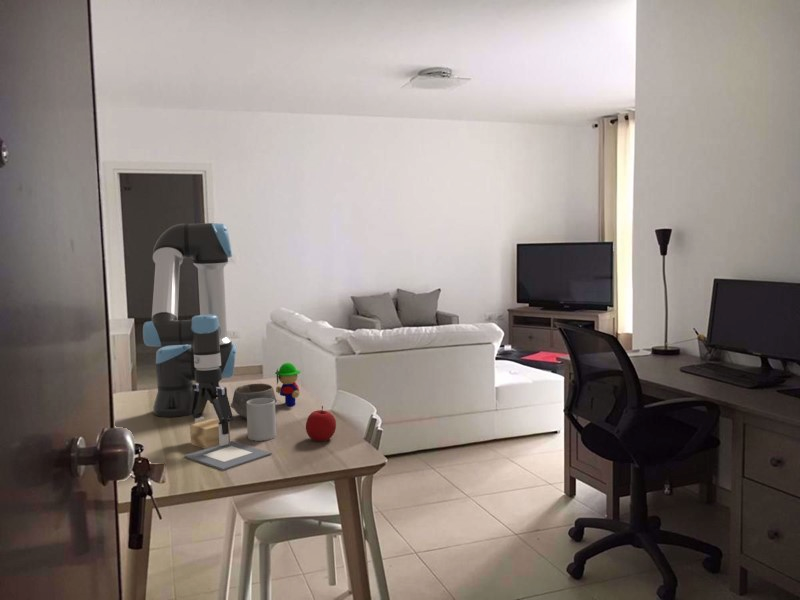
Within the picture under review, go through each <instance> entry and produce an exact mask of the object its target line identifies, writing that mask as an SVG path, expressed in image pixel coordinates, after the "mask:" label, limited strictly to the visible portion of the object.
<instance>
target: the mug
mask: <svg viewBox="0 0 800 600" xmlns="http://www.w3.org/2000/svg"><path fill="white" fill-rule="evenodd" d="M246 406H247V418H246V426H247V429H246V430H247V439H248V440H250V441H253V440H255V442H261V441H262V442H263V440H264V441H268V440H269V441H270V440H272V439H274V438H276V437H277V422H276V421H277V420H276V419H277V418H276V403H275V400H274V399H271V398H256V399H251V400H249V401H247V403H246Z"/></svg>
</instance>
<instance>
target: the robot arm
mask: <svg viewBox="0 0 800 600" xmlns="http://www.w3.org/2000/svg"><path fill="white" fill-rule="evenodd" d="M231 246H232V245H231V242H230V235H229V230H228V227H227V225H225V224H224V223H214V222H211V223H210V222H208V223H207V222H203V223H177V224H174V225H172V226H171V227H168V229H167V228H166V230H165V231H164V232H163V233H162V234H160V236H159V238H158V239H157V240H156V243H155V245H154V246H153V251H152V261H153V262H154V264H155V267H154V268H155V269H154V279H153V280H154V283H153V292H152V293H153V295H152V307H151V308H152V310H151V320H150V321H145V322H144V323H143V327H142V338H143V339H142V340H143V343H144V345H145V346H147V347H159V349H158V350H156V354H155V364H156V365H155V366H156V367H155V368H156V381H157V382H156V383H157V392H156V397H155V400H154V404H153V407H152V408H153V415H155V416H157V417H161V418H162V417H163V418H164V417H166V418H171V417H172V418H173V417H183V416H188V415H190V416H192V417H193V419H194V423H198V422H202V421H205V417H204V416H205V414H204V412H205V409H206V405H207V402H208V401H209V403H210V404H212V407H213V409H214V411H215V413H216V416H217V418H218V420H219V421H220V422H219V423H218V428H219V445H220V446H224V445H228V444H229V436H228V434H229V427H230V426H229V427H228V423H229V424H230V422H232V421H234V416H233V413H232V409H231V406H230V405H231V403H230V401H229V398H228V389H227V387H226V386H224V387H221V386H220V384H219V383H220V382H221V381H222V380H223V379H225V380H226V379H230V378H232V377H233V375H234V374H235V361H236V353H237V351H236V350H237V346H236V344H234V343H233V344H232V341H233V340H232V339H231V337H229V336H228V331H227V313H226V312H227V311H226V290H225V289H226V288H225V287H226V286H225V267H226V265H228V263H229V259H228V258H232V257H233V253H232V247H231ZM184 259H192V264H193V265H194V267H196V268H197V276H198V278H197V279H198V280H197V281H198V297H199V299H198V300H199V314H198V315H194V316H192V317H191V319H179V300H180V299H179V298H180V297H179V295H180V294H179V293H180V273H181V272H180V271H181V270H180V269H181V265H182V264H183V261H184ZM178 319H179V320H178ZM193 381H195V383H193Z"/></svg>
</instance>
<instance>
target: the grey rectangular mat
mask: <svg viewBox="0 0 800 600" xmlns="http://www.w3.org/2000/svg"><path fill="white" fill-rule="evenodd" d="M271 455H273V453H272V452H270V451H267V450H264V449H260V448H256V447H254V446H251V445H250V446H249V445H247V444H243V443H240V442H237V441H234V440H230V442H229V444H228V445H224V446H220V445H217V446H213V447H210V448H207V449H205V448H203V449H201V450H197V451H194V452H190V453H187V454H184V458H186V459H189V460H191V461H195V462H197V463H200V464H203V465H206V466H209V467H212V468H215V469H217V470H220V471H227V470H229V469H232V468H235V467H238V466H242V465H245V464H247V463H251V462H254V461H256V460H259V459H262V458H265V457H269V456H271Z"/></svg>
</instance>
